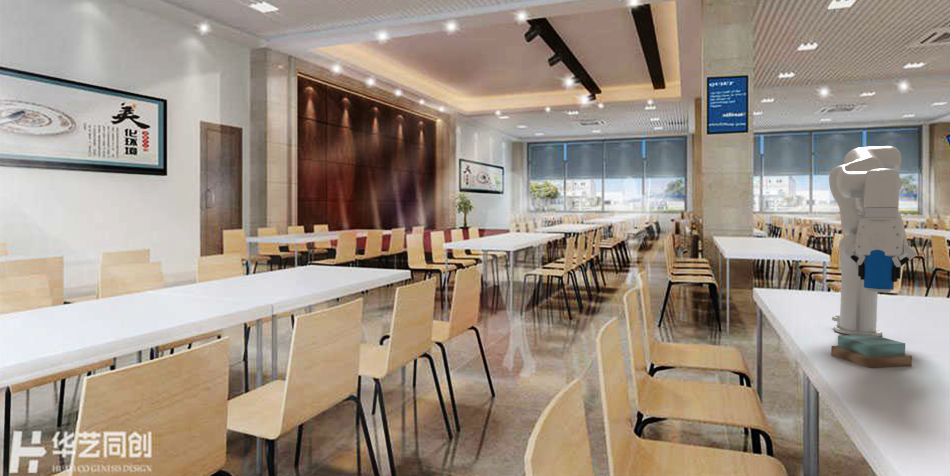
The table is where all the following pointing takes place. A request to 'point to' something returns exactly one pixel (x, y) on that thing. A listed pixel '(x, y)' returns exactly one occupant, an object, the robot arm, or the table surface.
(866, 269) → the beverage can
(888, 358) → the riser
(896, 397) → the table surface
